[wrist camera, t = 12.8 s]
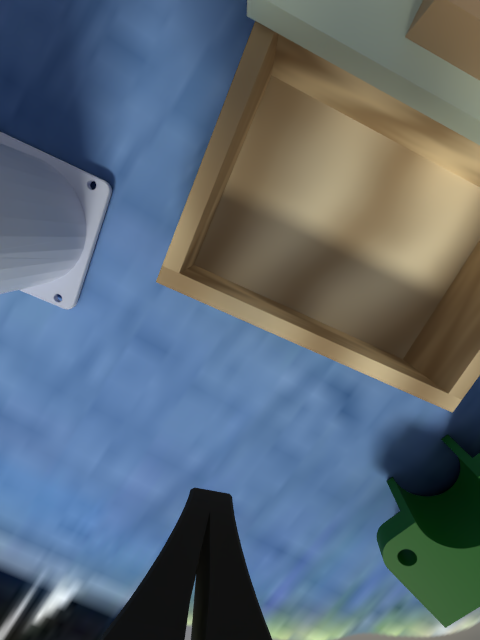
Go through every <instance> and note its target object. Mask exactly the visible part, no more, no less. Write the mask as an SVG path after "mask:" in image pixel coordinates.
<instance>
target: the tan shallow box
mask: <svg viewBox="0 0 480 640" xmlns="http://www.w3.org/2000/svg"><path fill="white" fill-rule="evenodd" d="M156 282H157V283H159V284H162V285H164V286H166V287H168V288H171V289H173V290H175V291H178V292H180V293H182V294H184V295H187V296H189V297H191V298H193V299H196V300H198V301H200V302H202V303H205V304H207V305H209V306H212V307H214V308H216V309H218V310H221V311H223V312H225V313H227V314H230V315H232V316H234V317H237V318H239V319H241V320H243V321H246V322H248V323H250V324H252V325H255V326H257V327H259V328H262V329H264V330H266V331H268V332H271V333H273V334H275V335H277V336H280V337H282V338H284V339H287V340H289V341H291V342H293V343H296V344H298V345H300V346H302V347H305V348H307V349H309V350H312V351H314V352H316V353H318V354H321V355H323V356H325V357H327V358H330V359H332V360H334V361H337V362H339V363H341V364H343V365H346V366H348V367H350V368H352V369H355V370H357V371H359V372H362V373H364V374H366V375H368V376H371V377H373V378H375V379H377V380H380V381H382V382H384V383H387V384H389V385H391V386H393V387H396V388H398V389H400V390H402V391H405V392H407V393H409V394H411V395H414V396H416V397H418V398H421V399H423V400H425V401H427V402H430V403H432V404H434V405H436V406H439V407H441V408H443V409H446V410H448V411H450V412H452V413H453V411H454V410H455V408H456V407H457V406H458V404H459V403H460V402H461V400H462V399H463V397H464V396H465V395H466V393H467V392H468V391H469V389H470V388H471V386H472V385H473V384H474V382H475V381H476V380H477V378H478V377H479V375H480V145H478V144H476V143H475V142H473V141H471V140H469V139H467V138H466V137H464V136H462V135H460V134H458V133H457V132H455V131H453V130H451V129H449V128H448V127H446V126H444V125H442V124H440V123H439V122H437V121H435V120H433V119H431V118H429V117H428V116H426V115H424V114H422V113H420V112H419V111H417V110H415V109H413V108H411V107H410V106H408V105H406V104H404V103H402V102H401V101H399V100H397V99H395V98H393V97H392V96H390V95H388V94H386V93H384V92H383V91H381V90H379V89H377V88H375V87H374V86H372V85H370V84H368V83H366V82H365V81H363V80H361V79H359V78H357V77H356V76H354V75H352V74H350V73H348V72H347V71H345V70H343V69H341V68H339V67H338V66H336V65H334V64H332V63H330V62H329V61H327V60H325V59H323V58H321V57H320V56H318V55H316V54H314V53H312V52H311V51H309V50H307V49H305V48H303V47H302V46H300V45H298V44H296V43H294V42H293V41H291V40H289V39H287V38H285V37H284V36H282V35H280V34H278V33H276V32H274V31H273V30H271V29H269V28H267V27H265V26H264V25H262V24H260V23H258V22H256V21H255V23H254V26H253V28H252V31H251V34H250V36H249V39H248V42H247V44H246V47H245V49H244V52H243V55H242V57H241V60H240V63H239V65H238V68H237V70H236V73H235V76H234V78H233V81H232V84H231V86H230V89H229V91H228V94H227V97H226V99H225V102H224V105H223V107H222V110H221V113H220V115H219V118H218V120H217V123H216V126H215V128H214V131H213V134H212V136H211V139H210V141H209V144H208V147H207V149H206V152H205V155H204V157H203V160H202V162H201V165H200V168H199V170H198V173H197V176H196V178H195V181H194V183H193V186H192V189H191V191H190V194H189V197H188V199H187V202H186V204H185V207H184V210H183V212H182V215H181V218H180V220H179V223H178V225H177V228H176V231H175V233H174V236H173V239H172V241H171V244H170V246H169V249H168V252H167V254H166V257H165V260H164V262H163V265H162V267H161V270H160V273H159V275H158V278H157V281H156Z"/></svg>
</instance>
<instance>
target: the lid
mask: <svg viewBox="0 0 480 640" xmlns="http://www.w3.org/2000/svg"><path fill="white" fill-rule="evenodd" d="M247 17H249V18H251V19H253V20H255V21H256V22H258V23H260V24H262V25H264V26H265V27H267V28H269V29H271V30H273V31H274V32H276V33H278V34H280V35H282V36H284V37H285V38H287V39H289V40H291V41H293V42H294V43H296V44H298V45H300V46H302V47H303V48H305V49H307V50H309V51H311V52H312V53H314V54H316V55H318V56H320V57H321V58H323V59H325V60H327V61H329V62H330V63H332V64H334V65H336V66H338V67H339V68H341V69H343V70H345V71H347V72H348V73H350V74H352V75H354V76H356V77H357V78H359V79H361V80H363V81H365V82H366V83H368V84H370V85H372V86H374V87H375V88H377V89H379V90H381V91H383V92H384V93H386V94H388V95H390V96H392V97H393V98H395V99H397V100H399V101H401V102H402V103H404V104H406V105H408V106H410V107H411V108H413V109H415V110H417V111H419V112H420V113H422V114H424V115H426V116H428V117H429V118H431V119H433V120H435V121H437V122H439V123H440V124H442V125H444V126H446V127H448V128H449V129H451V130H453V131H455V132H457V133H458V134H460V135H462V136H464V137H466V138H467V139H469V140H471V141H473V142H475V143H476V144H478V145H480V0H247Z"/></svg>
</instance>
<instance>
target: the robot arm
mask: <svg viewBox="0 0 480 640" xmlns="http://www.w3.org/2000/svg"><path fill="white" fill-rule="evenodd" d="M93 181H95V182H96V188H95V189H94V190H92V189H91V187H90V184H91V182H93ZM111 194H112V188H111V186H110V184H109V183H108V182H106V181H105V180H102V179H100V178H98V177H96V176H94V175H92V174H90V173H87V172H85V171H83V170H81V169H79V168H77V167H75V166H73V165H70V164H68V163H66V162H64V161H62V160H60V159H58V158H55V157H53V156H51V155H49V154H47V153H45V152H43V151H41V150H38V149H36V148H34V147H32V146H30V145H28V144H26V143H23V142H21V141H19V140H17V139H15V138H13V137H11V136H8V135H6V134H4V133H2V132H0V294H3V293H7V292H11V291H16V290H21V291H23V292H25V293H28V294H30V295H33V296H35V297H37V298H40V299H42V300H45V301H47V302H49V303H52V304H54V305H57V306H59V307H61V308H64V309H71V308H73V307H75V306H76V304H77V301H78V298H79V295H80V292H81V289H82V286H83V282H84V279H85V276H86V273H87V270H88V267H89V263H90V260H91V257H92V254H93V251H94V248H95V245H96V241H97V238H98V235H99V232H100V229H101V226H102V222H103V219H104V216H105V213H106V210H107V207H108V203H109V200H110V197H111ZM58 294H59V295H61V297H62V301H60V300H59V299H58V298H57V295H58ZM195 577H196V583H195V596H194V609H193V621H192V634H191V640H272V638H271V635H270V632H269V630H268V627H267V625H266V622H265V620H264V617H263V614H262V611H261V609H260V606H259V603H258V600H257V597H256V594H255V591H254V588H253V585H252V582H251V579H250V576H249V572H248V569H247V566H246V562H245V558H244V555H243V551H242V547H241V544H240V540H239V535H238V531H237V526H236V521H235V516H234V510H233V503H232V497H231V495H230V494H227V493H222V492H216V491H210V490H205V489H199V488H193V489H191V490H190V494H189V497H188V500H187V502H186V505H185V507H184V509H183V512H182V514H181V516H180V518H179V520H178V522H177V524H176V526H175V528H174V529H173V531H172V533H171V535H170V537H169V538H168V540H167V542H166V544H165V546H164V547H163V549H162V551H161V552H160V554H159V555H158V557H157V559H156V560H155V562H154V563H153V565H152V567H151V568H150V570H149V571H148V573H147V574H146V576H145V578H144V579H143V580H142V582H141V583H140V585H139V586H138V588H137V589H136V591H135V592H134V594H133V595H132V596H131V598H130V599H129V601H128V602H127V603H126V605H125V606H124V608H123V609H122V610H121V612H120V613H119V614H118V616H117V617H116V618H115V620H114V621H113V622H112V624H111V625H110V626H109V628H108V629H107V630H106V631H105V633H104V634H103V635H102V637H101V638H100V639H99V640H184V639H185V631H186V625H187V618H188V611H189V604H190V599H191V594H192V590H193V586H194V581H195Z"/></svg>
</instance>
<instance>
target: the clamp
mask: <svg viewBox="0 0 480 640" xmlns="http://www.w3.org/2000/svg"><path fill="white" fill-rule="evenodd" d="M441 440H442V441H443V442H444V443H445V444H446V445H447V446H448V447H449V448H450V449H451V450H452V451H453V452H454V453H455V454H456V455H457V456H458V458H459V461H460V474H459V477H458V479H457V481H456V483H455V484H454V485H453V486H452V487H451V488H450V489H449V490H447V491H446V492H444V493H442V494H439V495H436V496H418V495H414V494H412V493H409V492H407V491H406V490H404V489H403V488H401V487H400V486H399V485H398V484H397V483H396V482H395V480H394V479H393V477H392V478H390V479H389V480H388V481H387V483H388V485H389V487H390V490H391V492H392V494H393V496H394V498H395V500H396V502H397V504H398V507H399V509H400V512H398V513H397V514H396V515H394V516H393V517H392V518H390V519H389V520H388V521H386V522H385V523H383V524H382V525H381V526H380V528H379V530H378V532H377V542H378V545H379V548H380V551H381V554H382V557H383V560H384V563H385V565H386V567H387V568H388V569H389V570H390V571H391V572H392V573H393V574H394V575H395V576H396V577H397V578H398V579H399V581H400V582H401V583H402V584H403V585H404V586H405V587H406V588H407V589H408V590H409V591H410V592H411V593H412V594H413V595H414V596H415V597H416V598H417V599H418V600H419V601H420V602H421V603H422V604H423V605H424V606H425V607H426V608H427V609H428V610H429V611H430V612H431V613H432V614H433V615H434V616H435V617H436V619H437V620H438V621H439V622H440V623H441V624H442V625H443V626H444V627H445V628H446V627H447V626H449V625H451V624H452V623H454V622H455V621H457V620H459V619H460V618H462V617H464V616H465V615H467V614H468V613H470V612H472V611H473V610H475V609H477V608H478V607H480V453H479V454H477V455H476V456H475V457H473V458H472V457H471V456H470V455H469V454H468V453H467V452H466V451H465V450H463V449H462V448H461V447H460V446H459V445H458V444H457V443H456V442H455V441H454V440H453V439H452V438H451V437H450V436H449V435H446V436H445V437H444V438H442V439H441Z"/></svg>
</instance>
